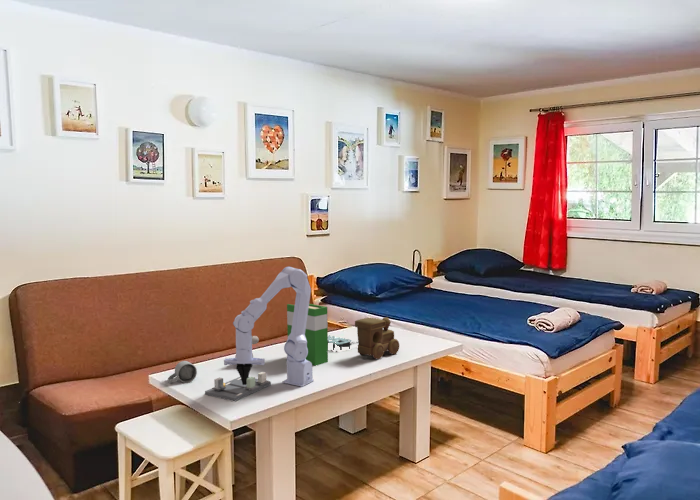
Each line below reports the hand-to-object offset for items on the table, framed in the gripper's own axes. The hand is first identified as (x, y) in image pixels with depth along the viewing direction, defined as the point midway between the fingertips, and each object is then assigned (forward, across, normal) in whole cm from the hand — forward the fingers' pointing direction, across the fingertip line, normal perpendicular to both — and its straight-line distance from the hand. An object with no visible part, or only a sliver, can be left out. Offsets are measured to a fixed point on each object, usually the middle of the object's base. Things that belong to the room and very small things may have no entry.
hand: (244, 383), depth 203 cm
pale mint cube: (+1, -2, +1) cm, 3 cm away
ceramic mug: (+3, +27, -11) cm, 29 cm away
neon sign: (+3, -34, -68) cm, 76 cm away
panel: (+3, +3, -2) cm, 4 cm away
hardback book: (+3, -19, -39) cm, 44 cm away
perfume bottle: (+3, +6, -33) cm, 34 cm away
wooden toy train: (+3, -50, -47) cm, 69 cm away
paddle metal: (+1, +9, +2) cm, 9 cm away
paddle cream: (+1, -5, -4) cm, 7 cm away
